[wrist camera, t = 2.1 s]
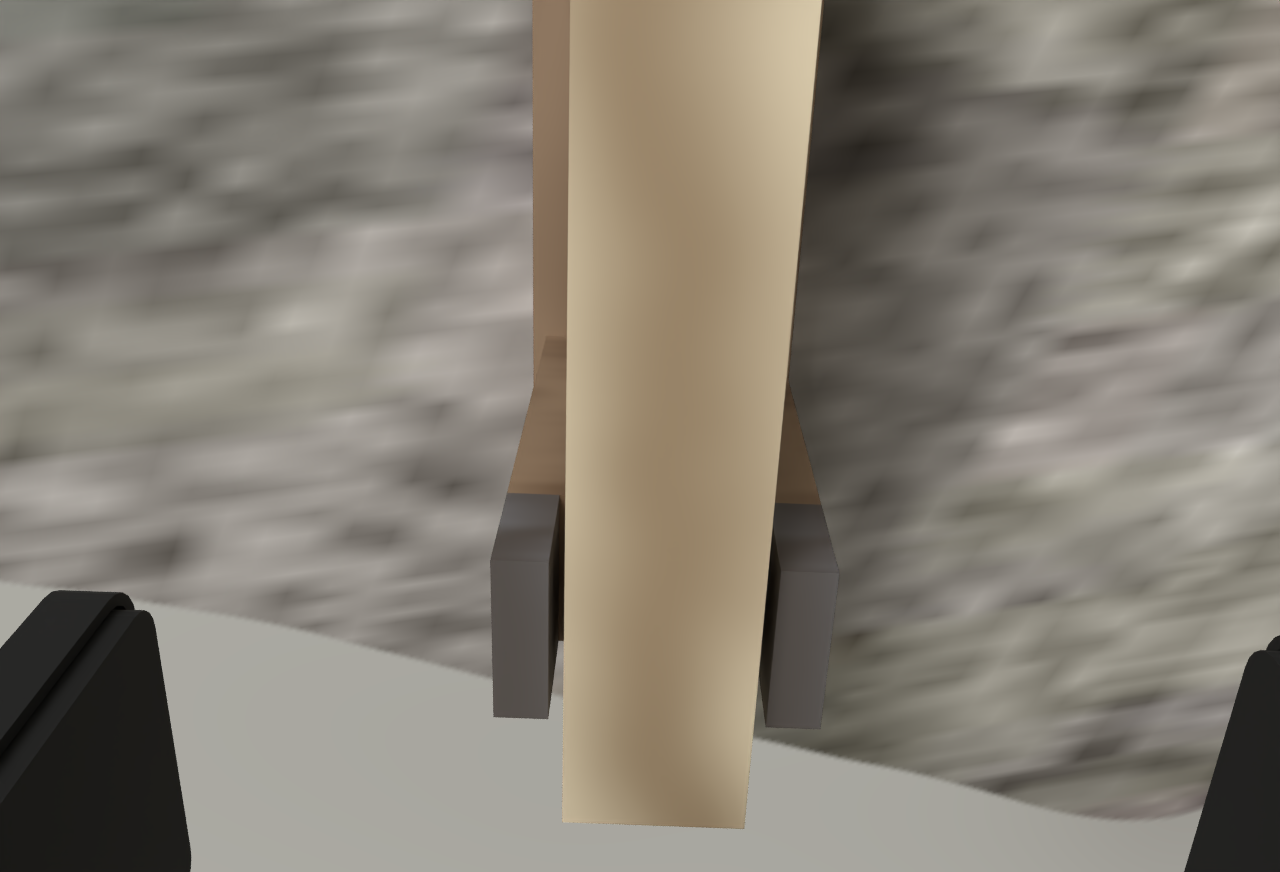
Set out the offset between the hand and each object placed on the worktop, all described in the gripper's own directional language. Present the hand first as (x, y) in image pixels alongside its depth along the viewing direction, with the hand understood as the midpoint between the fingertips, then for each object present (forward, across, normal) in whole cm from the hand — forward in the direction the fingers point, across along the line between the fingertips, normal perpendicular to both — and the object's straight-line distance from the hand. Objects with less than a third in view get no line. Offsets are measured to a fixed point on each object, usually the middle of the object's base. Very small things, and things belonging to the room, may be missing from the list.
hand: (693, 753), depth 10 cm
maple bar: (+16, 0, 0) cm, 16 cm away
